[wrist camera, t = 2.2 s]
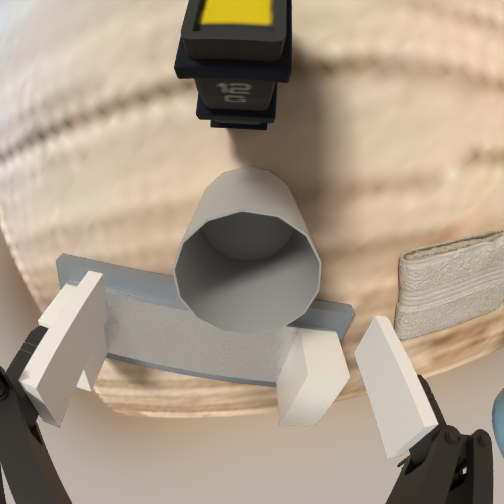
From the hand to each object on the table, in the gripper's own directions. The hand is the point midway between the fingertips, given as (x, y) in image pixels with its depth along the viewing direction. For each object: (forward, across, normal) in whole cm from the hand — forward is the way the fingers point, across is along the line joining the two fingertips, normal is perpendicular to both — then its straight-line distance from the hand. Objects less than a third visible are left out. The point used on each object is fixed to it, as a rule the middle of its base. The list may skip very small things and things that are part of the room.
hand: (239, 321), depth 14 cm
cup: (+14, 0, 0) cm, 14 cm away
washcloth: (+14, -26, +2) cm, 30 cm away
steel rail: (+12, +3, +14) cm, 19 cm away
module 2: (+11, -9, +14) cm, 20 cm away
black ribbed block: (+14, +2, -14) cm, 20 cm away
